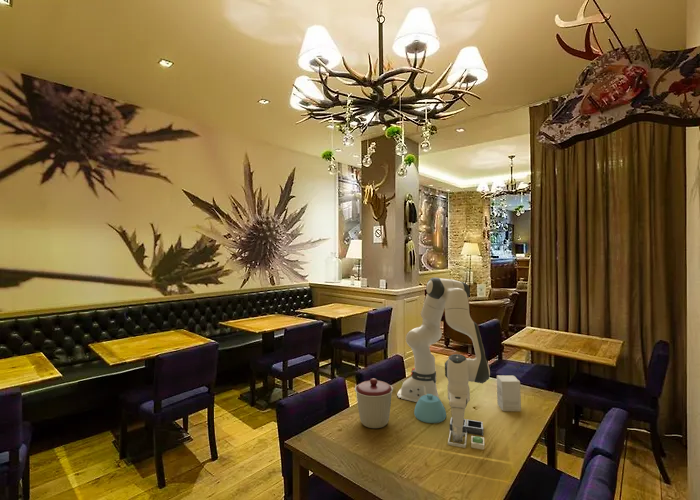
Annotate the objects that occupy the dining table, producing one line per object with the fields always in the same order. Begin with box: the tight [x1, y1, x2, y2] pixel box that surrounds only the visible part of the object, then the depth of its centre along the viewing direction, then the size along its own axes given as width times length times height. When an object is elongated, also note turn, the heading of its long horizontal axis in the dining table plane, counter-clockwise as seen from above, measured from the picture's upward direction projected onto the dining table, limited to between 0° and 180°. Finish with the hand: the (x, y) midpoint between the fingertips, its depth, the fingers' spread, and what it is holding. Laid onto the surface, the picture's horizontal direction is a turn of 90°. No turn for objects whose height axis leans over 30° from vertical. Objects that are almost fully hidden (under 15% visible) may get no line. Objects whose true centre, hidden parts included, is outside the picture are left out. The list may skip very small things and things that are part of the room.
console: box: [470, 435, 485, 450], centre depth 145 cm, size 5×6×3 cm
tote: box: [447, 429, 468, 449], centre depth 149 cm, size 7×10×2 cm
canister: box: [354, 377, 394, 429], centre depth 167 cm, size 18×18×21 cm
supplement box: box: [496, 374, 522, 412], centre depth 180 cm, size 9×9×15 cm
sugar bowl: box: [413, 394, 447, 424], centre depth 170 cm, size 15×15×12 cm
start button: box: [473, 435, 483, 444], centre depth 145 cm, size 3×3×3 cm
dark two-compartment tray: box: [449, 416, 484, 437], centre depth 158 cm, size 14×8×4 cm, turn 69°
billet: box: [452, 422, 464, 444], centre depth 149 cm, size 4×4×8 cm
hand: (459, 428), depth 148 cm, fingers open, 8 cm apart
